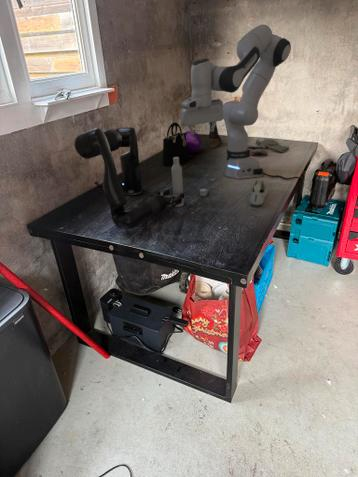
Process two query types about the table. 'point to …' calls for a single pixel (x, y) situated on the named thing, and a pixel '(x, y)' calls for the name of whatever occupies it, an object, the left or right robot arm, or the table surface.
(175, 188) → the bottle
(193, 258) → the table surface
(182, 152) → the handbag
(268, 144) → the pair of gloves
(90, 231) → the table surface
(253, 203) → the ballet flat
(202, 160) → the table surface
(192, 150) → the decorative orb
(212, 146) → the boot
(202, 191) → the cap
